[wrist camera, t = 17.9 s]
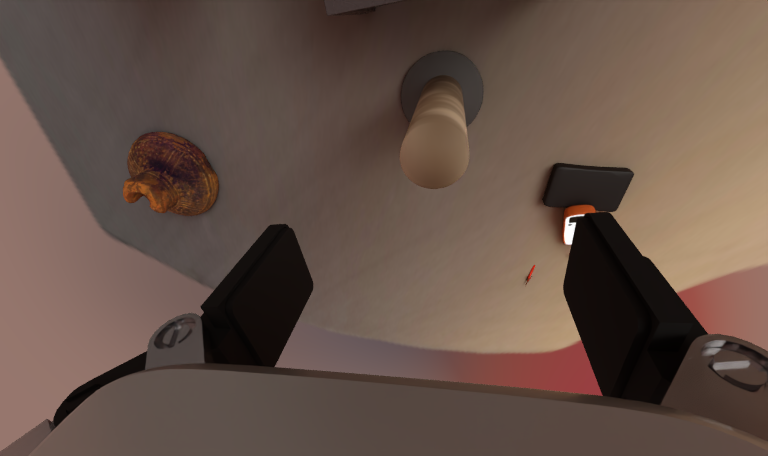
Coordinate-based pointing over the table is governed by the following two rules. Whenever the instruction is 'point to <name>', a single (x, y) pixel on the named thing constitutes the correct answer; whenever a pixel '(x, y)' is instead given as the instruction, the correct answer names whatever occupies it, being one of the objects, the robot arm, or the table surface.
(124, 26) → the table surface
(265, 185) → the table surface
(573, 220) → the multimeter
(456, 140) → the dowel
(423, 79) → the coaster
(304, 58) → the table surface
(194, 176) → the brown rounded piece
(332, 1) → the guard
